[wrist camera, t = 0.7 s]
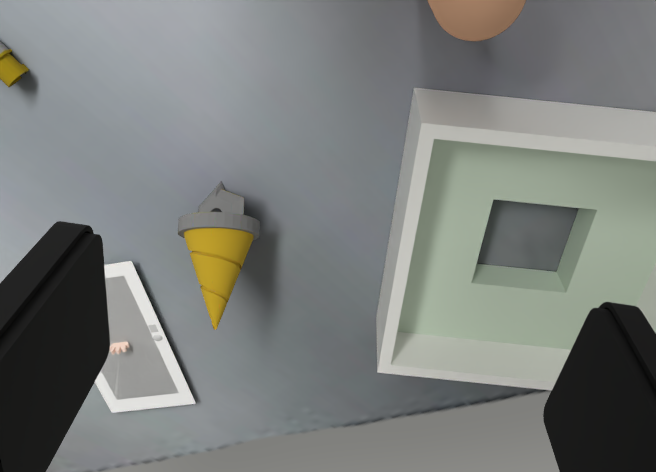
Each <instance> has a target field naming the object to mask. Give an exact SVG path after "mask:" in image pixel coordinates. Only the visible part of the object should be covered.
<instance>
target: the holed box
mask: <svg viewBox="0 0 656 472" xmlns="http://www.w3.org/2000/svg"><path fill="white" fill-rule="evenodd" d="M493 199H494V200H504V201H514V202H524V203H534V204H544V205H553V206H563V207H573V208H579V209H578V212H577V215H576V218H575V220H574V223H573V226H572V229H571V232H570V235H569V237H568V240H567V243H566V246H565V249H564V252H563V254H562V257H561V260H560V263H559V266H558V269H557V271H556V272H553V271H544V270H534V269H524V268H514V267H505V266H495V265H485V264H477V260H478V256H479V252H480V248H481V245H482V241H483V237H484V233H485V230H486V226H487V222H488V218H489V214H490V211H491V207H492V203H493ZM604 302H612V303H619V304H625V305H632V306H636V307H638V308H639V309H640V310H641V311H642V313H643V314H644V316H645V317H646V319H647V321H648V322H649V324H650V325H651V327H652V328H653V330H654V332H655V333H656V112H651V111H641V110H631V109H621V108H611V107H601V106H591V105H581V104H571V103H562V102H552V101H542V100H532V99H522V98H512V97H502V96H492V95H482V94H472V93H462V92H453V91H443V90H433V89H423V88H414V90H413V96H412V102H411V108H410V114H409V120H408V126H407V133H406V139H405V145H404V151H403V157H402V163H401V169H400V175H399V181H398V187H397V193H396V200H395V206H394V212H393V218H392V224H391V230H390V236H389V242H388V248H387V254H386V260H385V267H384V273H383V279H382V285H381V291H380V297H379V303H378V309H377V315H376V325H377V372H378V373H387V374H397V375H407V376H417V377H426V378H436V379H446V380H455V381H465V382H475V383H484V384H494V385H504V386H513V387H523V388H533V389H542V390H552V389H553V387H554V385H555V383H556V381H557V379H558V377H559V374H560V372H561V370H562V368H563V366H564V364H565V362H566V360H567V358H568V355H569V353H570V351H571V349H572V347H573V345H574V343H575V341H576V339H577V336H578V334H579V332H580V330H581V328H582V326H583V324H584V322H585V320H586V317H587V315H588V313H589V312H590V310H591V309H593V308H599V306H600V305H601V304H602V303H604Z"/></svg>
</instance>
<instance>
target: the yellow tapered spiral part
mask: <svg viewBox="0 0 656 472" xmlns="http://www.w3.org/2000/svg"><path fill="white" fill-rule="evenodd" d="M178 235H180V236H181V237H183V238H185V240H186V243H187V246H188V249H189V250H191V251H192V252H191V253H190V256H191V259H192V262H193V265H194V268H195V271H196V275H197V278H198V281H199V284H201V285H202V286H201V290H202V294H203V297H204V300H205V303H206V306H207V309H208V313H209V316H210V318H211V320H212V325H213V328H214V330H215V329H217V327H218V324H219V322H220V319H221V317H222V315H223V312H224V310H225V307H226V304H227V302H228V300H229V297H230V295H231V292H232V290H233V287H234V285H235V282H236V280H237V278H238V275H239V273H240V270H241V268H242V265H243V263H244V260H245V258H246V255H247V253H248V250H249V248H250V245H251V243H252V241H254V240H256V239H258V238H259V237H260V222H259V221H258V220H257V219H255V218H253V217H250V216H246V215H244V198H243V197H241V196H238V195H235V194H233V193H230V192H228V191H225V190H224V187H223V184H222V181H221V182H220V183H219V185H218V186H217V187H216V188H215V189H214V190H213V191H212V192H211V193H210V195H209V196H208V197H207V198H206V199H205V200H204V201H203V202H202V204H201V205H200V206H199V211H198V213H191V214H186V215H183V216H181V217H180V218H179V223H178Z"/></svg>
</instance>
